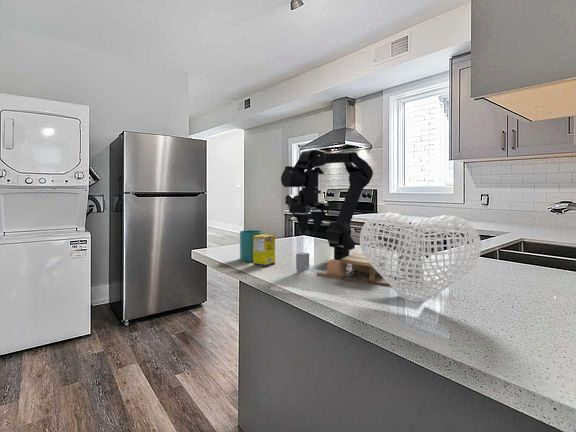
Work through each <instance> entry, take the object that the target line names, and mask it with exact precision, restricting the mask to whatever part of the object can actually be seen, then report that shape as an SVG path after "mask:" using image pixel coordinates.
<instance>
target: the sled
mask: <svg viewBox="0 0 576 432" xmlns="http://www.w3.org/2000/svg"><path fill="white" fill-rule="evenodd" d="M295 255H296V256H295V259H296V260H295V262H296V263H295V266H296V267H295V270H296V273H299V272H302V271H308V272H313V273H318V272H321V273H327V269H324V270H320V269H315V268H310V253H309V252H297V253H296V254H295ZM353 275H355V273H354V270H352V269H350V271H348V272H346V276H348V277H352V276H353Z"/></svg>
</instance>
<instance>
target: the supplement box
mask: <svg viewBox="0 0 576 432" xmlns="http://www.w3.org/2000/svg"><path fill="white" fill-rule="evenodd" d="M252 263H253V265H254V266H259V267H271V266H273V265H275V264H276V235H272V234H264V233H263V234H261V235H256V236H253V262H252Z"/></svg>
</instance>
